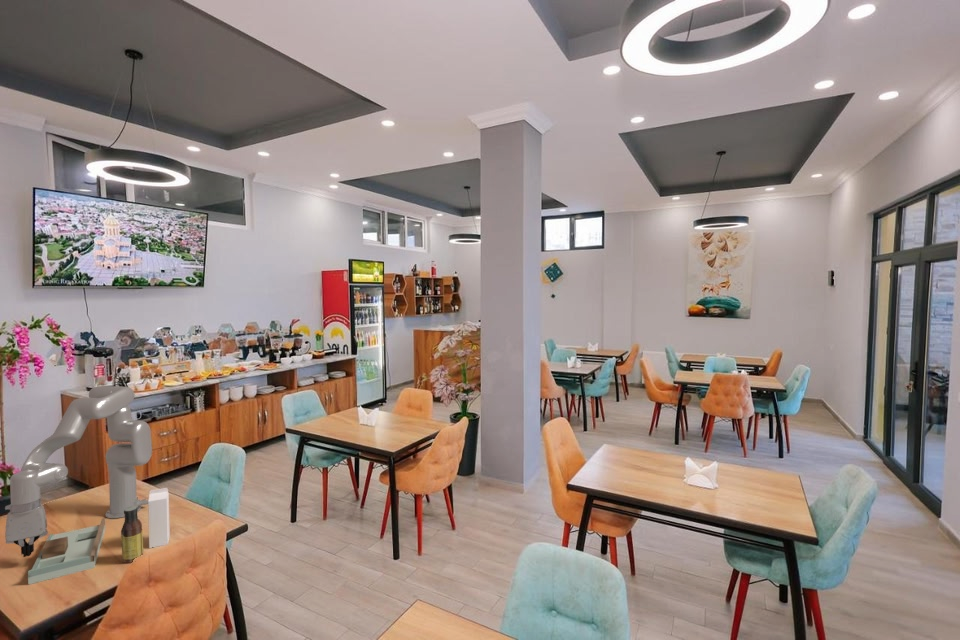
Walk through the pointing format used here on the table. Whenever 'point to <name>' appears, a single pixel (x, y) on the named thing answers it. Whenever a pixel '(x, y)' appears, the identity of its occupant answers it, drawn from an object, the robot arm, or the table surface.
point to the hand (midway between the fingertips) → (27, 554)
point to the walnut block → (55, 547)
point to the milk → (158, 517)
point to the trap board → (70, 554)
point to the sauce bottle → (131, 535)
